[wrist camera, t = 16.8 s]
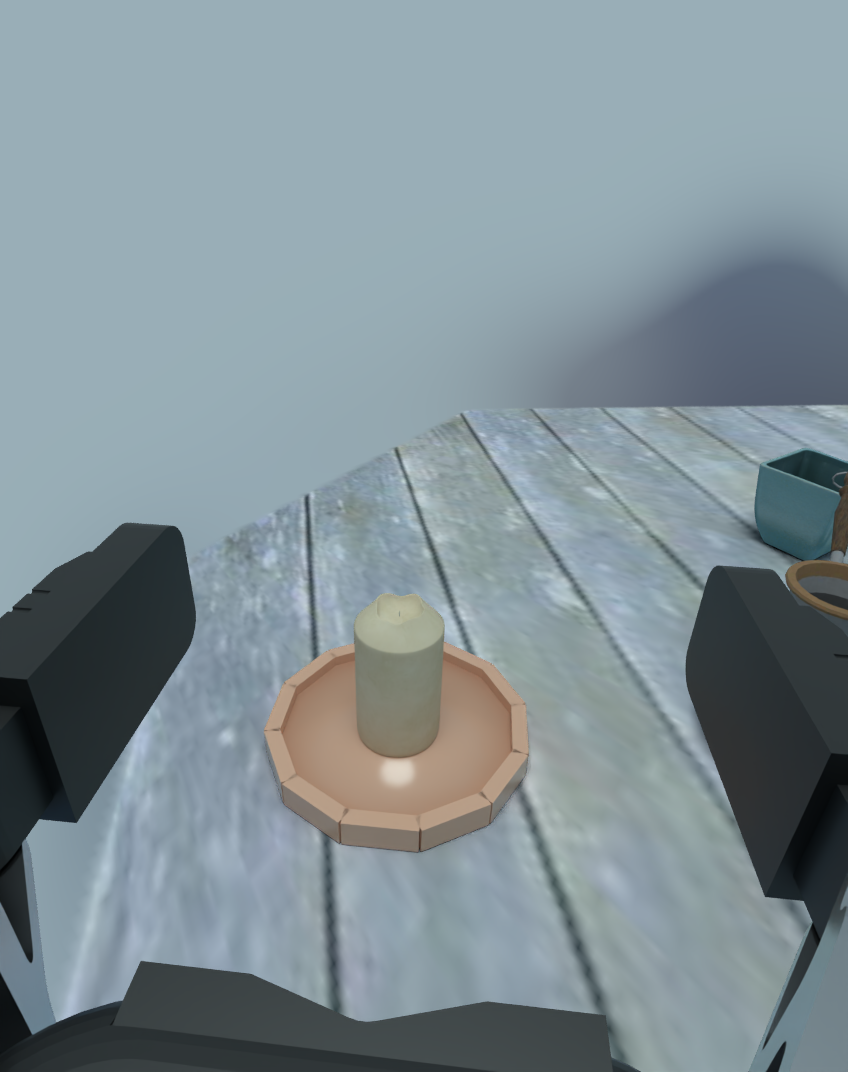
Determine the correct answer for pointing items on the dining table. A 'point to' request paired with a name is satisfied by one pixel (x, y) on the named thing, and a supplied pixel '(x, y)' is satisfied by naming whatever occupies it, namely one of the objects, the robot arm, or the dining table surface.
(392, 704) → the candle
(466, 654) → the saucer
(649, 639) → the dining table surface
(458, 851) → the dining table surface
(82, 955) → the dining table surface
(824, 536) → the flower pot
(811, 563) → the coffee pot
